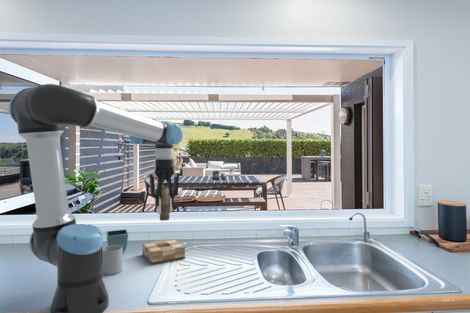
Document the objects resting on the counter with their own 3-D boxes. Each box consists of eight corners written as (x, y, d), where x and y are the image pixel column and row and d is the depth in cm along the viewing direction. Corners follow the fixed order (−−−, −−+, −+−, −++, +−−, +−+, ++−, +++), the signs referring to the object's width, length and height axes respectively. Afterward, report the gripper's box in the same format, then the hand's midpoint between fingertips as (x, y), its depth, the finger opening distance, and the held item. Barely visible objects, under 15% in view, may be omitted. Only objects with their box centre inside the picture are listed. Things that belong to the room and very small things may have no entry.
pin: (170, 219, 132) (170, 187, 132) (161, 220, 130) (161, 187, 130) (167, 217, 135) (167, 186, 135) (158, 219, 133) (158, 186, 133)
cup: (97, 274, 114) (97, 250, 114) (113, 264, 124) (113, 242, 124) (115, 276, 113) (115, 251, 113) (129, 266, 123) (129, 243, 122)
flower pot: (106, 250, 141) (106, 231, 141) (126, 248, 145) (126, 229, 144) (106, 256, 133) (106, 236, 133) (128, 254, 137) (128, 233, 136)
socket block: (184, 258, 131) (184, 247, 131) (152, 264, 124) (152, 252, 124) (173, 249, 143) (173, 238, 143) (142, 254, 136) (142, 243, 136)
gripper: (180, 158, 139) (180, 209, 140) (142, 158, 131) (142, 213, 131) (186, 158, 133) (186, 212, 134) (146, 159, 124) (147, 217, 125)
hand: (164, 212), depth 133 cm, fingers closed on pin, 4 cm apart
